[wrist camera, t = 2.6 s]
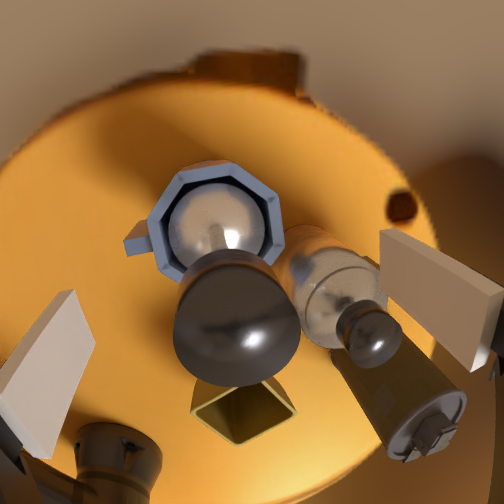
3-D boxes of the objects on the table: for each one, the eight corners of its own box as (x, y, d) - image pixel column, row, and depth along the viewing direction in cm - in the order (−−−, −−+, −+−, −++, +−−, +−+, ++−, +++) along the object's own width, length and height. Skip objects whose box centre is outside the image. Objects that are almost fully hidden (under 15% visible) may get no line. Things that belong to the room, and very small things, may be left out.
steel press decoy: (273, 297, 37) (324, 402, 21) (264, 231, 35) (321, 308, 18) (352, 279, 38) (436, 361, 22) (349, 216, 36) (451, 272, 19)
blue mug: (158, 256, 34) (140, 309, 22) (140, 174, 31) (107, 188, 19) (260, 236, 35) (289, 280, 24) (247, 153, 32) (273, 156, 21)
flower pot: (244, 326, 38) (257, 373, 30) (281, 368, 41) (299, 415, 33) (188, 362, 39) (187, 412, 30) (229, 399, 42) (236, 448, 33)
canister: (339, 314, 40) (423, 423, 21) (403, 310, 41) (494, 395, 23) (323, 379, 43) (380, 488, 24) (384, 371, 45) (451, 461, 26)
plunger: (180, 280, 23) (167, 423, 10) (160, 192, 21) (103, 261, 8) (268, 263, 24) (338, 388, 11) (255, 175, 22) (333, 216, 9)
